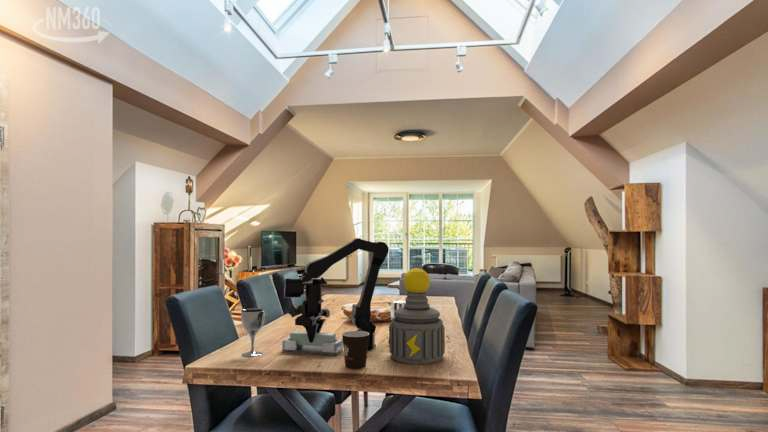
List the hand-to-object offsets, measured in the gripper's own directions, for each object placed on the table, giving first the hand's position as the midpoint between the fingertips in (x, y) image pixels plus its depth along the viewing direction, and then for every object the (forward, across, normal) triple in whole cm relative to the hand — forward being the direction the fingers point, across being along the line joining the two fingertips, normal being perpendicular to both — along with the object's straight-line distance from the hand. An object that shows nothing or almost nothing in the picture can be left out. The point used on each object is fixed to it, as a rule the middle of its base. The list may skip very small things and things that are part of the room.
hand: (312, 341), depth 150 cm
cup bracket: (+4, 0, 0) cm, 4 cm away
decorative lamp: (+4, -1, +37) cm, 37 cm away
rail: (+1, 0, 0) cm, 1 cm away
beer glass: (+4, -24, +27) cm, 36 cm away
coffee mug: (+4, +12, +19) cm, 23 cm away
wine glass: (+4, +8, -19) cm, 21 cm away
